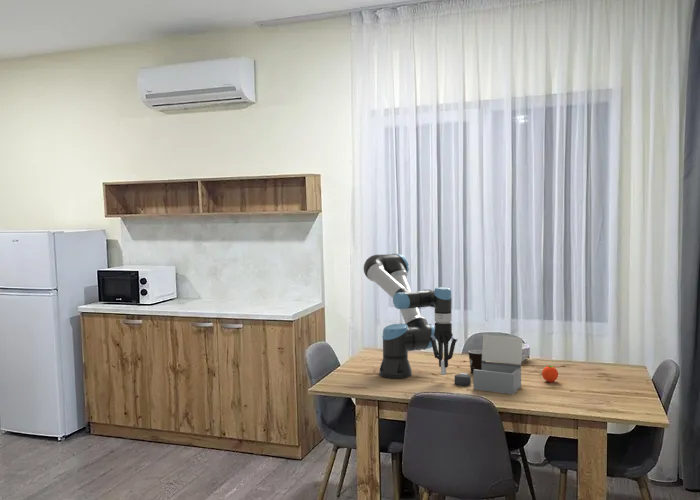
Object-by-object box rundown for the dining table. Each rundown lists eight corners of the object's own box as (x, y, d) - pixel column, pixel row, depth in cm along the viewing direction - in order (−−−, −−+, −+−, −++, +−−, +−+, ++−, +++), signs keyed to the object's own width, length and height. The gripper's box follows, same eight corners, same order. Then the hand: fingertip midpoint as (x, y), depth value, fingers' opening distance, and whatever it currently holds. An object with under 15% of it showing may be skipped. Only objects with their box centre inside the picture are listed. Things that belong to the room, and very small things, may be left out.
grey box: (473, 389, 266) (473, 367, 265) (482, 381, 278) (482, 360, 277) (513, 394, 258) (513, 371, 257) (521, 386, 270) (521, 364, 269)
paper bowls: (533, 363, 310) (533, 348, 310) (503, 363, 310) (503, 348, 310) (525, 356, 325) (525, 341, 325) (496, 356, 326) (496, 341, 325)
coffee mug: (487, 375, 289) (487, 354, 288) (468, 374, 291) (468, 353, 290) (486, 369, 300) (486, 348, 300) (468, 368, 302) (468, 348, 301)
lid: (483, 334, 277) (484, 334, 279) (481, 360, 276) (482, 360, 278) (521, 338, 269) (522, 337, 271) (520, 364, 268) (521, 364, 270)
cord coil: (452, 385, 274) (452, 374, 274) (457, 381, 280) (457, 370, 280) (467, 386, 271) (467, 376, 270) (472, 383, 277) (472, 372, 276)
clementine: (547, 378, 283) (547, 362, 282) (562, 381, 278) (562, 365, 278) (539, 381, 277) (539, 365, 277) (553, 384, 272) (553, 368, 272)
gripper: (426, 322, 278) (427, 374, 279) (454, 324, 272) (454, 377, 273) (432, 320, 284) (432, 370, 285) (459, 321, 278) (460, 373, 279)
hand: (443, 374), depth 279 cm, fingers closed
